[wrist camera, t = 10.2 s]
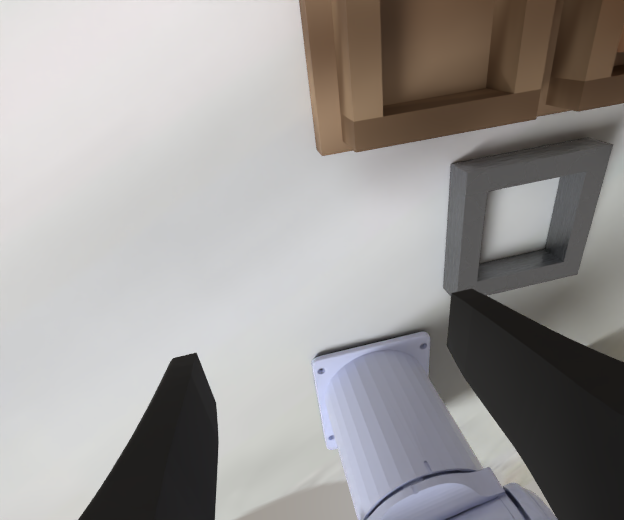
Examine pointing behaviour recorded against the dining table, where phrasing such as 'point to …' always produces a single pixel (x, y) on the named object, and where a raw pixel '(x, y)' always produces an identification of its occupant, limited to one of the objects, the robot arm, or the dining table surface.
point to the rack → (454, 65)
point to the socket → (564, 224)
